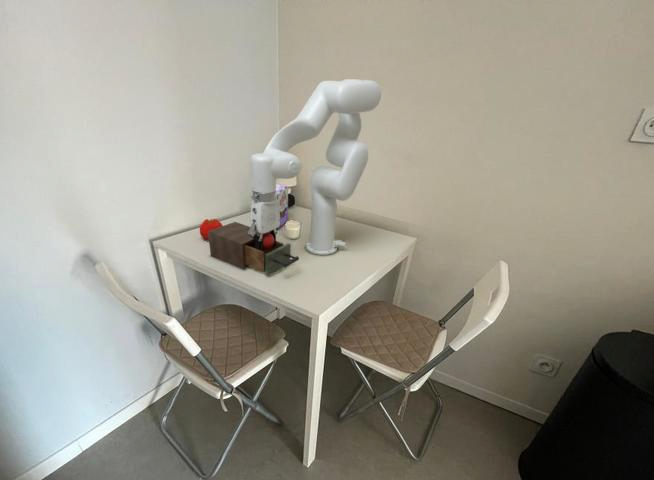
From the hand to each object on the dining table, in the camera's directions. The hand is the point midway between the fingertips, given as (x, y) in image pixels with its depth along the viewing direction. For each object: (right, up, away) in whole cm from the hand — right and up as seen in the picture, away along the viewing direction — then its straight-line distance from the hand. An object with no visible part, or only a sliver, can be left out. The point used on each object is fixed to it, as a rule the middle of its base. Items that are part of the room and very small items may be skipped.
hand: (265, 247), depth 119 cm
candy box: (-1, +17, +40) cm, 44 cm away
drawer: (+1, -6, +3) cm, 7 cm away
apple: (0, 0, 0) cm, 1 cm away
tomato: (-26, +7, +22) cm, 35 cm away
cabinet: (-11, -2, +10) cm, 15 cm away
